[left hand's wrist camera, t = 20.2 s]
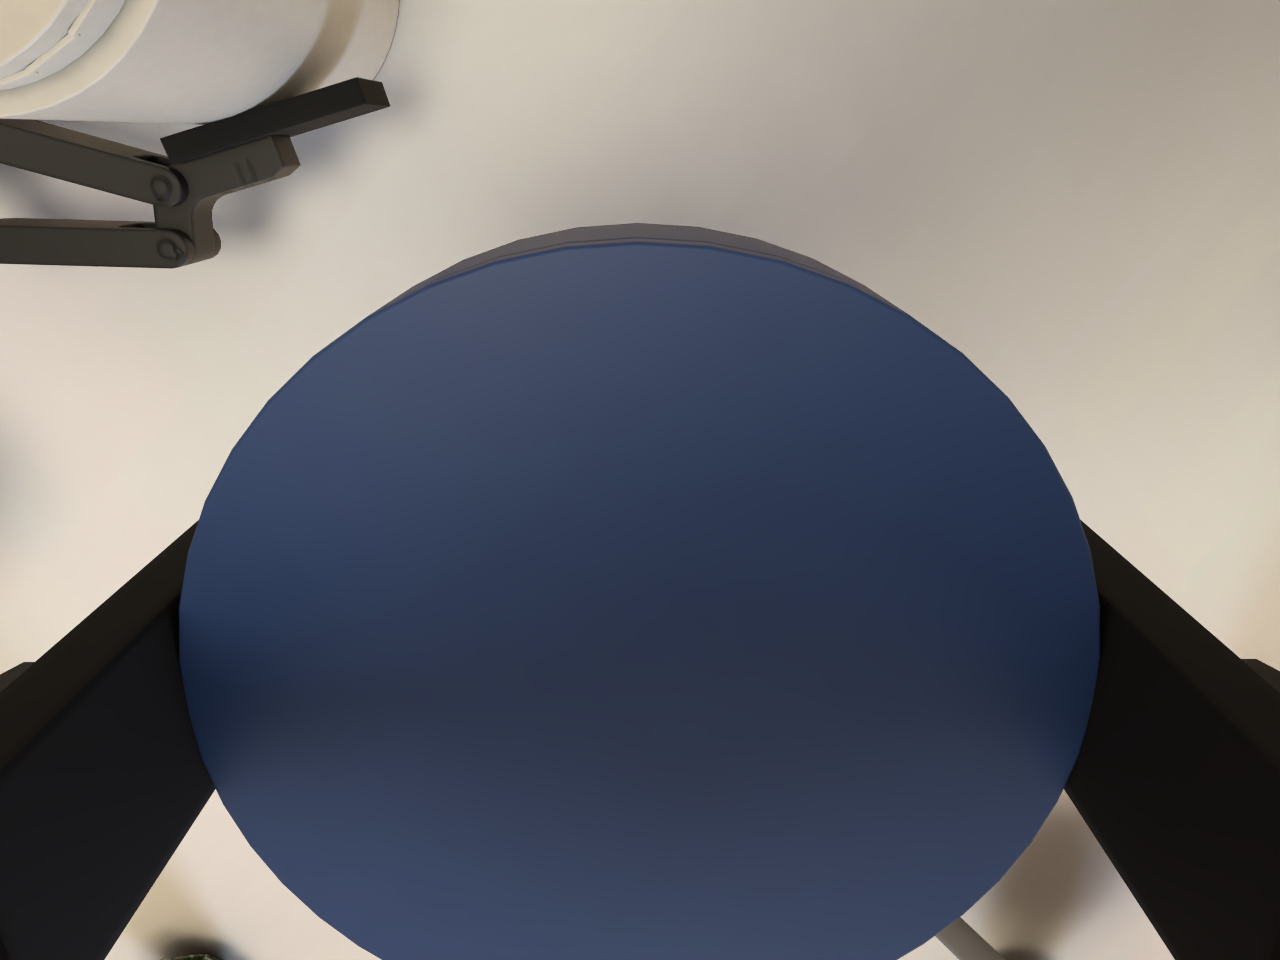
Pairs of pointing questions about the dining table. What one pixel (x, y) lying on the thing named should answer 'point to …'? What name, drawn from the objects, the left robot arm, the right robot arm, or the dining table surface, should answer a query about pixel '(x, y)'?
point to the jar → (181, 55)
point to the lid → (639, 614)
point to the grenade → (195, 957)
